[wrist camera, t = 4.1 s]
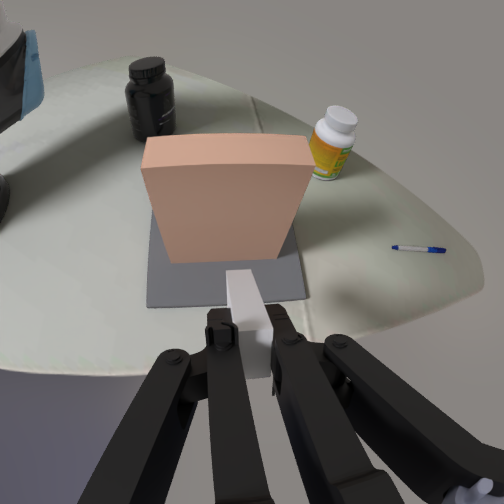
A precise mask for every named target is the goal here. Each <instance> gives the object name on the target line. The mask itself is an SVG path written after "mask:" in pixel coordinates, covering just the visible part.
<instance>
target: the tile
mask: <svg viewBox="0 0 504 504" xmlns="http://www.w3.org/2000/svg"><path fill="white" fill-rule="evenodd" d="M315 167H316V164H315V161H314V159H313V156H312V153H311V150H310V147H309V144H308V141H307V139H306V136H299V135H282V134H256V133H212V134H186V135H170V136H158V137H147V142H146V146H145V150H144V155H143V159H142V164H141V172H142V175H143V179H144V182H145V186H146V189H147V192H148V196H149V199H150V202H151V205H152V209H153V212H154V215H155V218H156V221H157V224H158V227H159V230H160V233H161V236H162V239H163V242H164V245H165V248H166V250H167V253H168V256H169V259H170V262H171V263H195V262H218V261H240V260H262V259H277V257H278V254H279V252H280V250H281V247H282V245H283V243H284V240H285V238H286V236H287V234H288V231H289V229H290V227H291V224H292V222H293V219H294V217H295V215H296V212H297V210H298V208H299V205H300V203H301V200H302V198H303V196H304V193H305V191H306V188H307V186H308V184H309V181H310V179H311V176H312V174H313V172H314V169H315Z"/></svg>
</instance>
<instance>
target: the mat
mask: <svg viewBox="0 0 504 504" xmlns="http://www.w3.org/2000/svg"><path fill="white" fill-rule="evenodd" d="M245 269H251V272H252V274H253V277H254V279H255V282H256V285H257V287H258V290H259V293H260V295H261V298H262V300H263V303H271V302H283V301H295V300H305V299H306V294H305V288H304V282H303V276H302V271H301V265H300V260H299V255H298V250H297V244H296V239H295V234H294V229H293V224H291V227H290V229H289V231H288V234H287V236H286V238H285V240H284V243H283V245H282V247H281V250H280V252H279V254H278V257H277V259H262V260H240V261H218V262H195V263H171V262H170V259H169V256H168V253H167V250H166V248H165V245H164V242H163V239H162V236H161V233H160V230H159V227H158V224H157V221H156V218H155V215H154V212H153V210H152V219H151V230H150V241H149V255H148V272H147V300H146V307H147V308H179V307H205V306H225V305H227V283H226V270H245Z"/></svg>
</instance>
